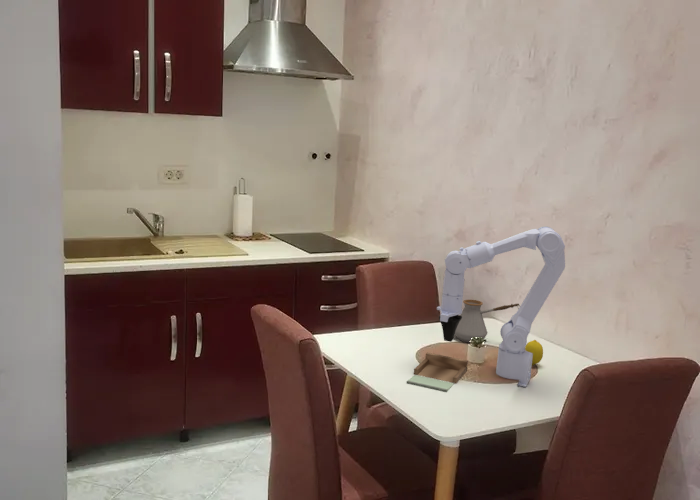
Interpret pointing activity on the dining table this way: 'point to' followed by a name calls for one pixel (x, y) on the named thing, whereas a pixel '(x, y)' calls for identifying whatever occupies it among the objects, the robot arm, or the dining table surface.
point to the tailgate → (430, 383)
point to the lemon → (535, 351)
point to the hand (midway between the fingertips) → (448, 340)
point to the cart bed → (442, 368)
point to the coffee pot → (474, 320)
